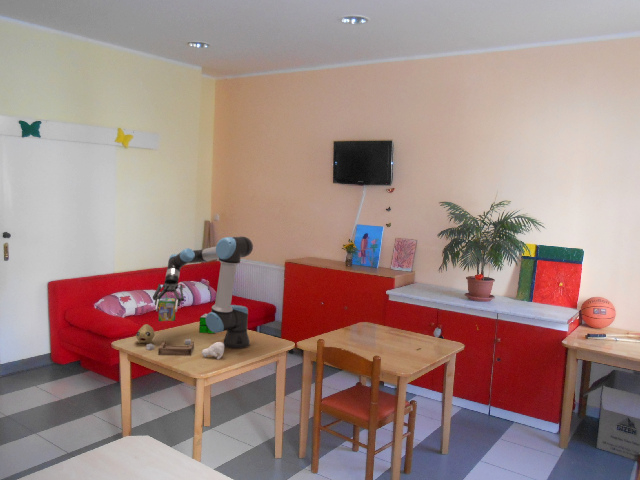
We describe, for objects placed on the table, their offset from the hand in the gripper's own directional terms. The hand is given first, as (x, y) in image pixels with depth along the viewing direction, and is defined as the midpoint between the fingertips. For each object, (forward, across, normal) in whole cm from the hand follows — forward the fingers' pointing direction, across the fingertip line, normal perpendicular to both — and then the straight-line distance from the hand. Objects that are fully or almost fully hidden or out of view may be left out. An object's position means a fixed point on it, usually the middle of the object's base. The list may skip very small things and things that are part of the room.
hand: (166, 310), depth 297 cm
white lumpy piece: (+28, -28, -2) cm, 40 cm away
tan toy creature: (+11, +13, -18) cm, 25 cm away
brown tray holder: (+20, -8, -9) cm, 23 cm away
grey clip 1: (+19, +7, -10) cm, 23 cm away
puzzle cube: (-10, -20, -40) cm, 46 cm away
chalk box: (+2, 0, -7) cm, 7 cm away
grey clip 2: (+11, -12, -19) cm, 25 cm away
